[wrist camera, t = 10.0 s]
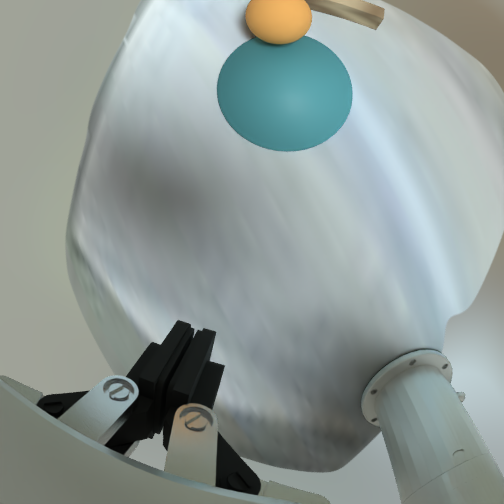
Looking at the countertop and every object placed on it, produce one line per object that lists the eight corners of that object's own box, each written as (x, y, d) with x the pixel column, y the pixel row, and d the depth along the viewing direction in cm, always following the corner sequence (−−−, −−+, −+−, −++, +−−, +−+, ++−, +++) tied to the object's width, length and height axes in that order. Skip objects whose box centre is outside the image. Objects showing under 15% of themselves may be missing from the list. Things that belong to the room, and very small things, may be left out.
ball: (310, 53, 18) (310, 41, 21) (313, -9, 13) (312, -9, 16) (240, 48, 18) (252, 37, 22) (237, -11, 14) (251, -12, 17)
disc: (361, 53, 20) (362, 53, 20) (335, 168, 23) (335, 168, 23) (237, 24, 20) (236, 23, 20) (202, 134, 23) (202, 134, 23)
